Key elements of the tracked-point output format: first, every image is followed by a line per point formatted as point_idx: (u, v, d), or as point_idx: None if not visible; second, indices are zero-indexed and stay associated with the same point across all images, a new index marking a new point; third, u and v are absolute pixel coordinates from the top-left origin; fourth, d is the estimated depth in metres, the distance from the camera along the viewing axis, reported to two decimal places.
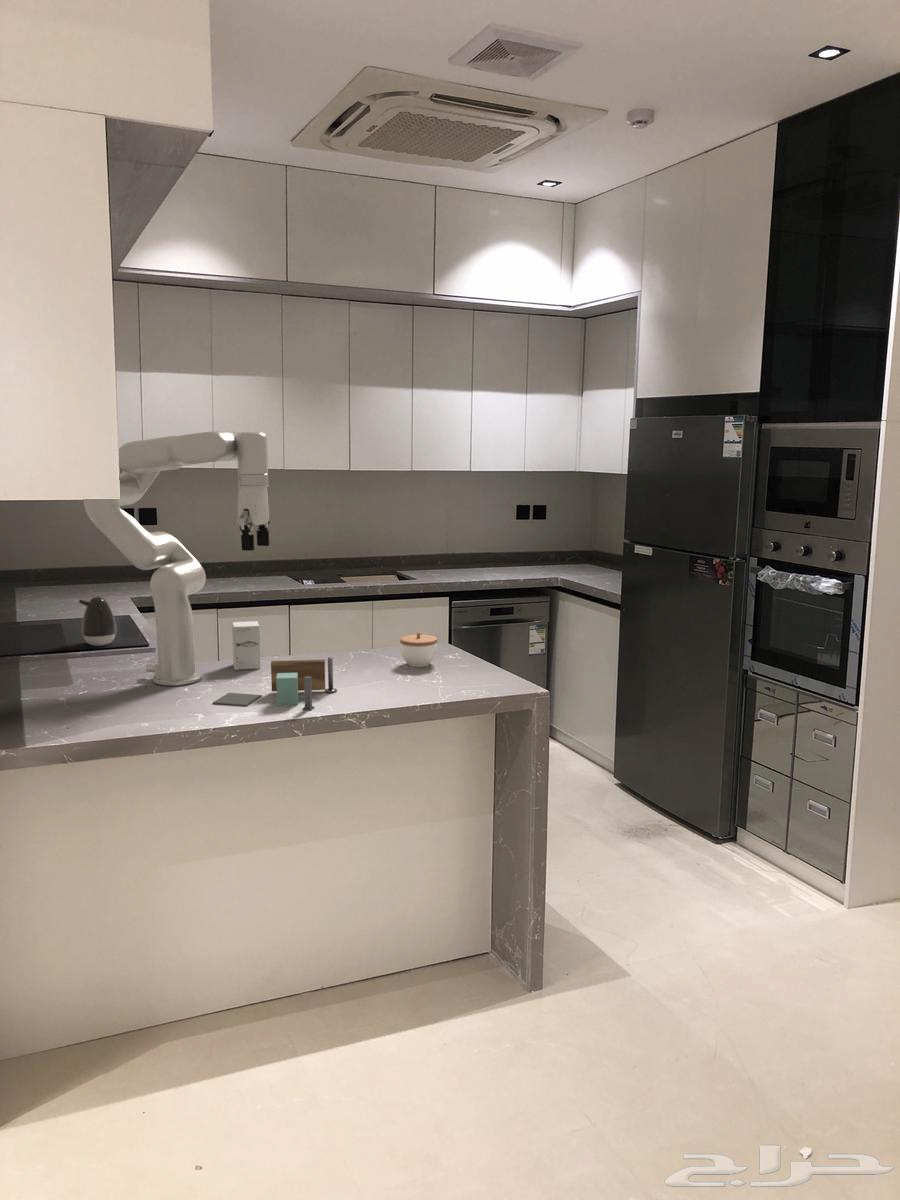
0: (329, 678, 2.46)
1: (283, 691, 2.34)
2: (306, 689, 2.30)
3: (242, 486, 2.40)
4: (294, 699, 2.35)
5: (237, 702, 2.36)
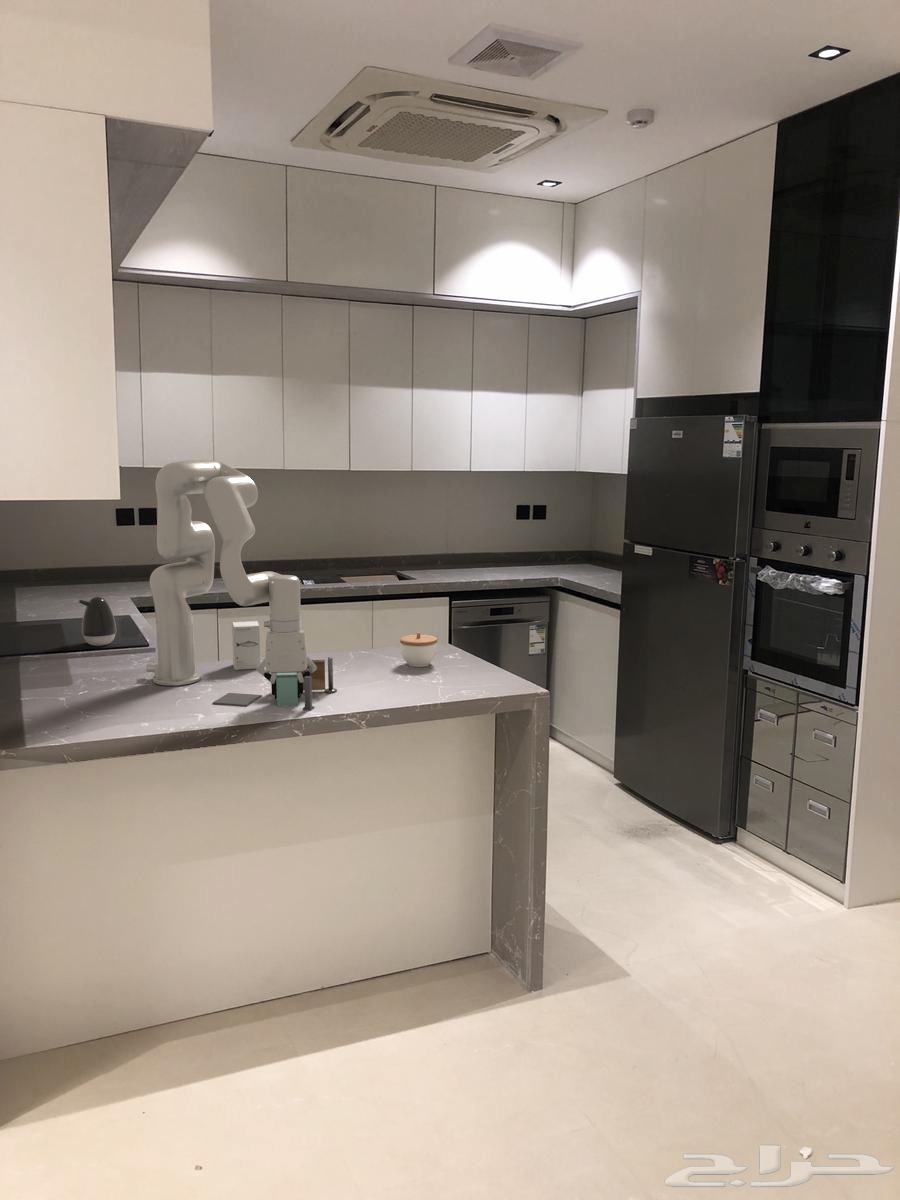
0: (329, 678, 2.46)
1: (283, 691, 2.34)
2: (306, 689, 2.30)
3: (299, 631, 2.33)
4: (294, 699, 2.35)
5: (237, 702, 2.36)
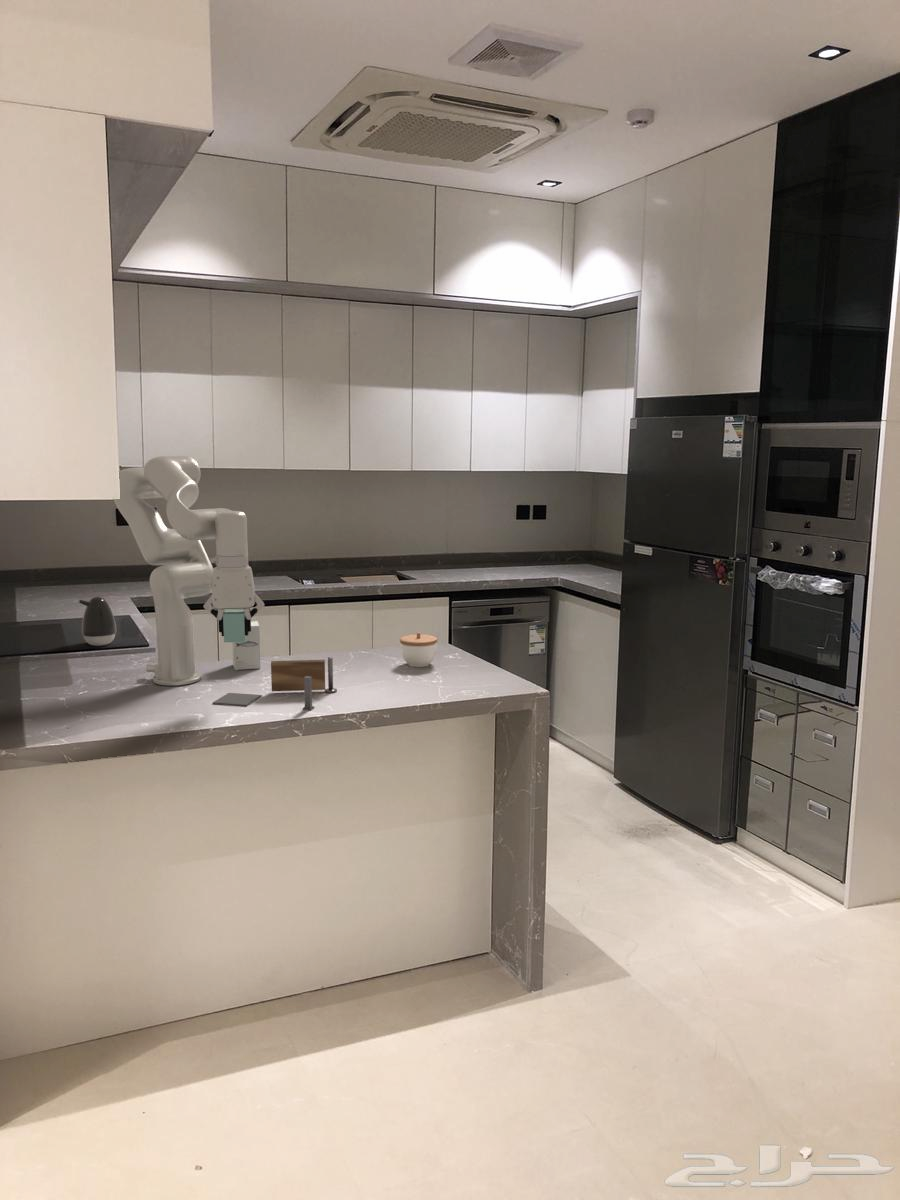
0: (329, 678, 2.46)
1: (230, 627, 2.33)
2: (306, 689, 2.30)
3: (246, 567, 2.32)
4: (241, 636, 2.34)
5: (237, 702, 2.36)
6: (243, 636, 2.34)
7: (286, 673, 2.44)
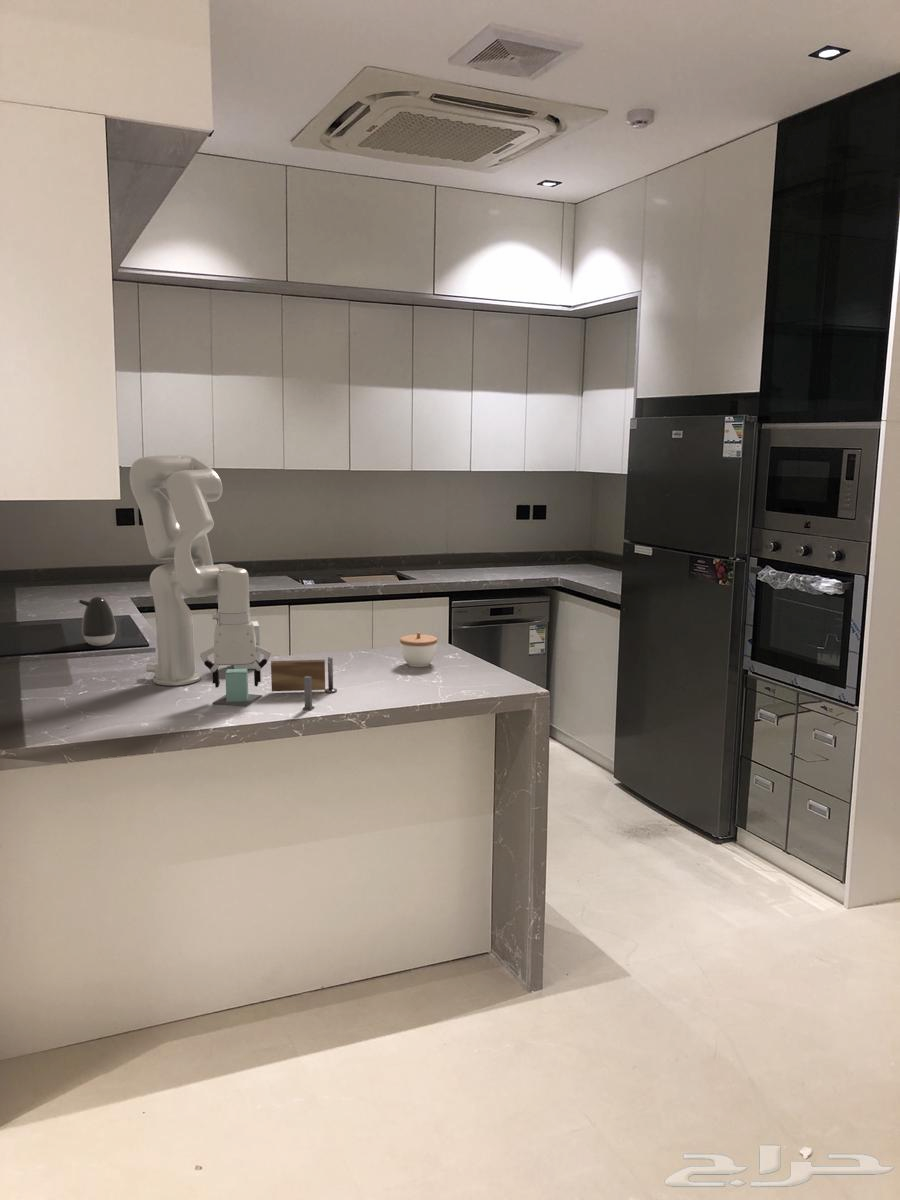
0: (329, 678, 2.46)
1: (232, 687, 2.36)
2: (306, 689, 2.30)
3: (248, 623, 2.35)
4: (243, 695, 2.37)
5: (237, 702, 2.36)
6: (245, 695, 2.37)
7: (286, 673, 2.44)
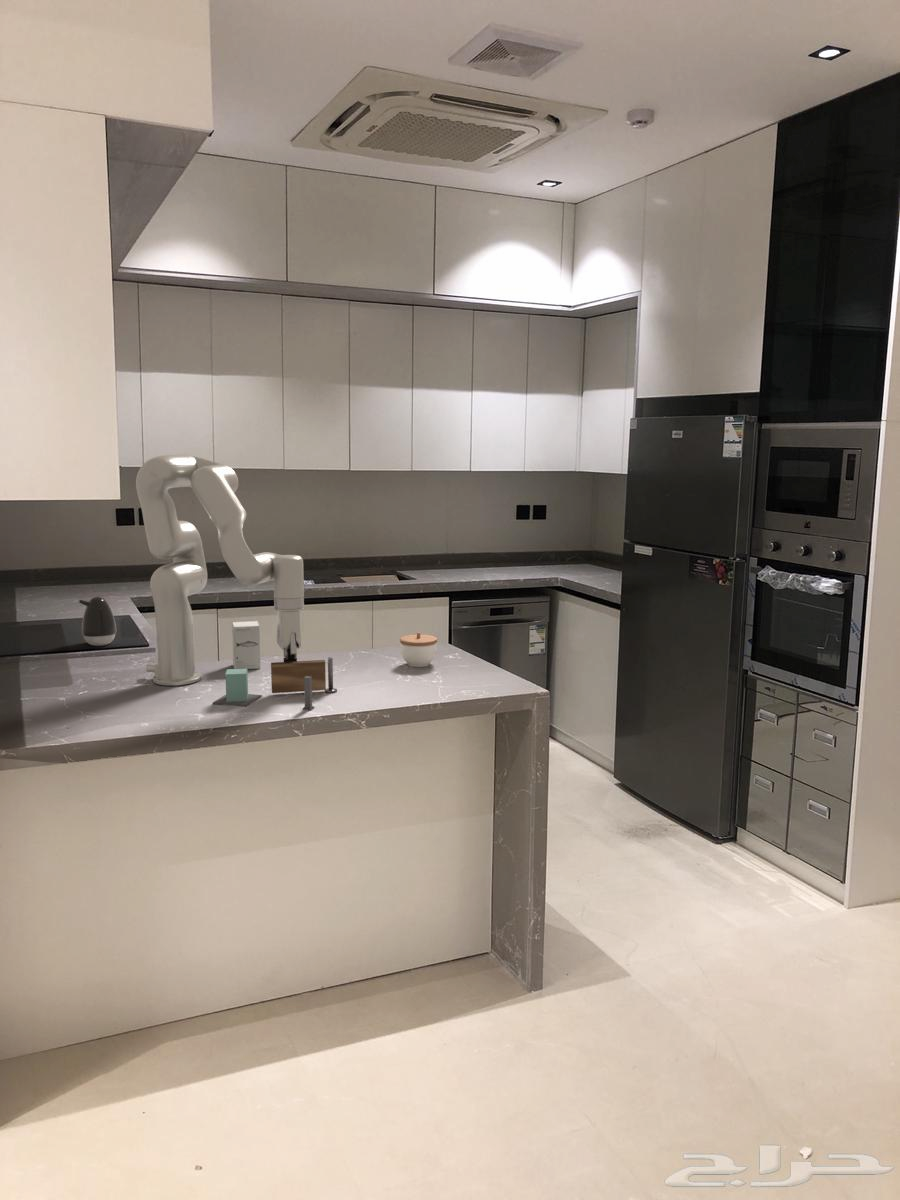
0: (329, 678, 2.46)
1: (232, 687, 2.36)
2: (306, 689, 2.30)
3: (285, 610, 2.41)
4: (243, 695, 2.37)
5: (237, 702, 2.36)
6: (245, 695, 2.37)
7: (287, 674, 2.43)
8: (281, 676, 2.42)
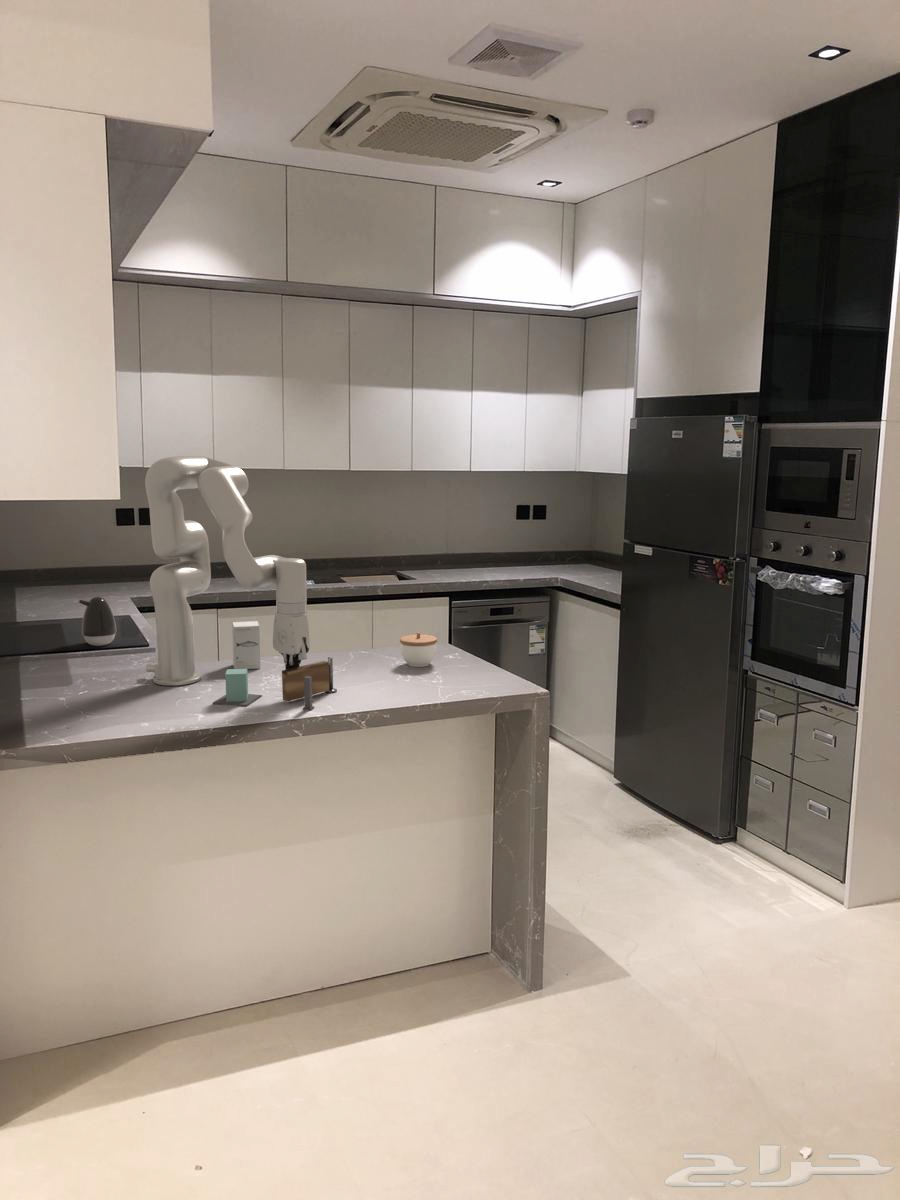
0: (329, 678, 2.46)
1: (232, 687, 2.36)
2: (306, 689, 2.30)
3: (294, 615, 2.35)
4: (243, 695, 2.37)
5: (237, 702, 2.36)
6: (245, 695, 2.37)
7: (299, 680, 2.37)
8: (295, 682, 2.36)
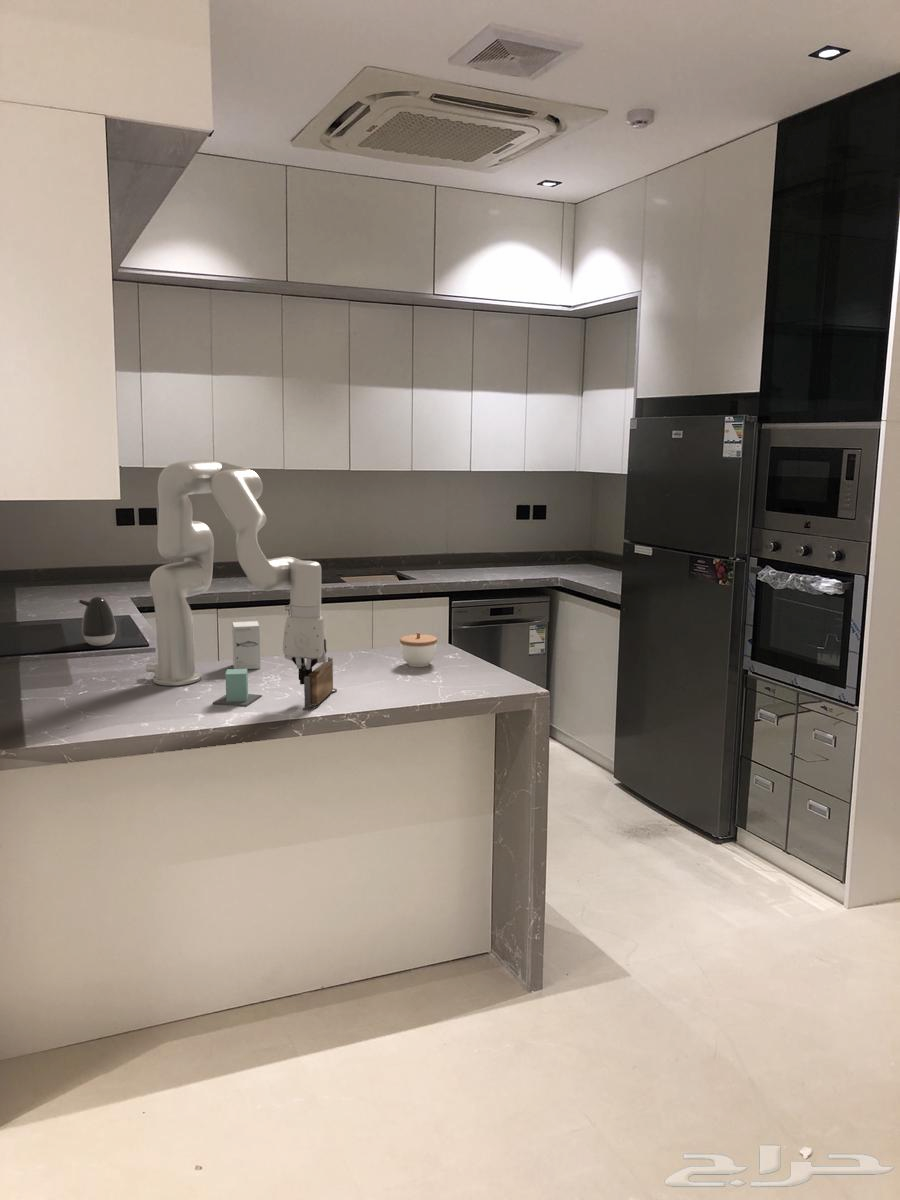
0: None
1: (232, 687, 2.36)
2: (306, 689, 2.30)
3: (316, 618, 2.32)
4: (243, 695, 2.37)
5: (237, 702, 2.36)
6: (245, 695, 2.37)
7: (321, 682, 2.35)
8: (319, 685, 2.34)
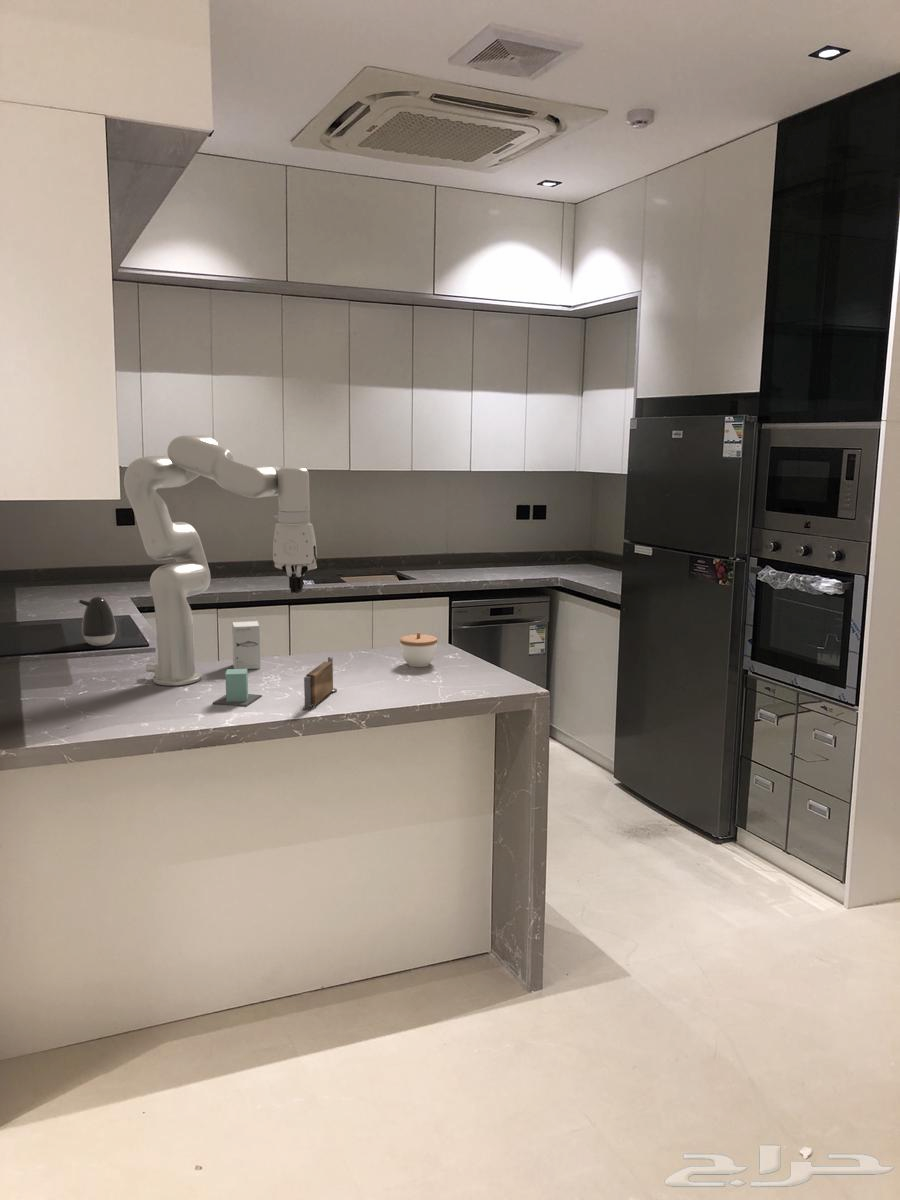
0: None
1: (232, 687, 2.36)
2: (306, 689, 2.30)
3: (305, 523, 2.32)
4: (243, 695, 2.37)
5: (237, 702, 2.36)
6: (245, 695, 2.37)
7: (319, 682, 2.35)
8: (318, 685, 2.34)
